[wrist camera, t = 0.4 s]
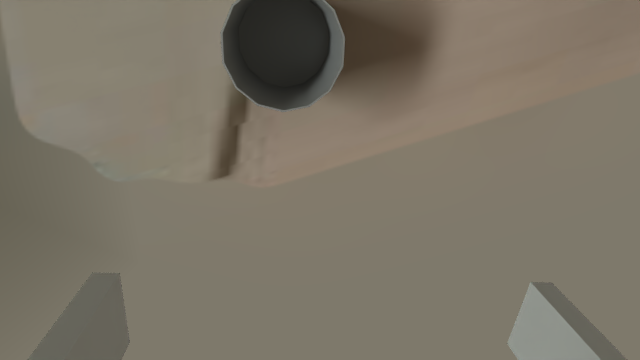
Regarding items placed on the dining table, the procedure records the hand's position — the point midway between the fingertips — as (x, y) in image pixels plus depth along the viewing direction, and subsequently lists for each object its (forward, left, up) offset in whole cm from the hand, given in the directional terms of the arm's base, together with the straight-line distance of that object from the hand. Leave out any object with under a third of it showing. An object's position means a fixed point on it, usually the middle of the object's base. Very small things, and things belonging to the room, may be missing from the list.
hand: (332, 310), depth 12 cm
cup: (-7, -2, -28) cm, 28 cm away
